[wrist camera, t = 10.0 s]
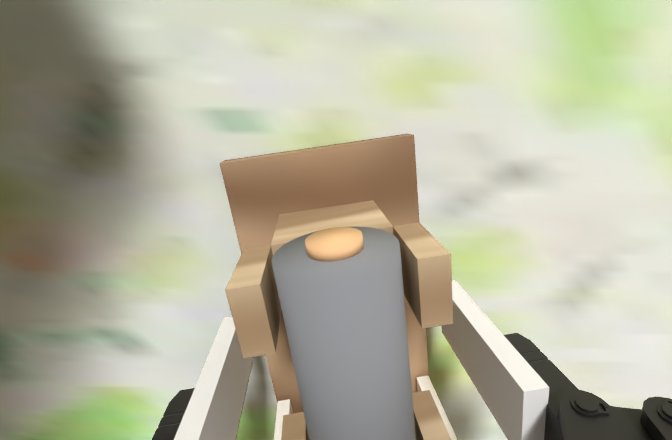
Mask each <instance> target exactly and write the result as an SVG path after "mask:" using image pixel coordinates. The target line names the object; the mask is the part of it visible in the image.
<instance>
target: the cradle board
mask: <svg viewBox="0 0 672 440" xmlns="http://www.w3.org/2000/svg"><path fill="white" fill-rule="evenodd" d="M220 167H221V171H222V175H223V179H224V183H225V188H226V192H227V196H228V200H229V204H230V208H231V213H232V217H233V221H234V225H235V229H236V233H237V237H238V242H239V246H240V250H241V254H242V255H241V257H240V259H239V261H238V263H237V265H236V268H235V270H234V272H233V274H232V276H231V278H230V280H229V283H228V285H227V287H226V289H225V291H226V295H227V299H228V302H229V306H230V310H231V314H232V317H233V321H234V325H235V329H236V332H237V336H238V340H239V344H240V347H241V351H242V355H243V358H249V357H255V356H261V355H266V358H267V362H268V366H269V370H270V374H271V378H272V383H273V387H274V391H275V395H276V399H277V403H278V401H282V400H288V399H290V402H291V406H292V410H293V414H288V415H283V424H282V437H281V440H309V436H308V431H307V426H306V421H305V417H304V412H303V407H302V403H301V398H300V393H299V389H298V384H297V379H296V375H295V370H294V365H293V360H292V356H291V351H290V346H289V342H288V337H287V332H286V328H285V323H284V318H283V313H282V309H281V304H280V299H279V295H278V290H277V285H276V281H275V276H274V271H273V266H272V257H273V255H274V254H275V252H276V251H277V250H278V249H279V248H280V247H282V246H283V245H284V244H286V243H288V242H289V241H291V240H293V239H295V238H298V237H300V236H303V235H306V234H309V233H312V232H316V231H320V230H324V229H328V228H334V227H351V226H357V227H371V228H377V229H381V230H384V231H387V232H389V233H391V234H393V235H394V236H395V237H396V238H397V239H398V241H399V243H400V253H401V265H402V277H403V289H404V301H405V313H406V326H407V338H408V350H409V362H410V374H411V386H412V398H413V410H414V422H415V435H416V440H451V438H450V436H449V433H448V431H447V429H446V427H445V424H444V422H443V420H442V418H441V415H440V413H439V411H438V408H437V406H436V404H435V402H434V399H433V397H432V395H431V392H430V390H426V391H421V392H417V380H416V377H422V376H429V370H428V354H427V338H426V328H430V327H436V326H442V325H448V324H453V303H452V272H451V254H450V253H449V252H448V251H447V250H446V249H445V248H444V247H443V246H442V245H441V244H440V243H439V242H438V241H437V240H436V239H435V238H434V237H433V236H432V235H431V234H430V233H429V232H428V231H427V230H426V229H425V228H424V227H423V226H422V225H421V224H420V223H419V209H418V193H417V177H416V161H415V144H414V135H411V134H403V135H396V136H389V137H382V138H376V139H369V140H362V141H355V142H348V143H341V144H334V145H328V146H321V147H314V148H307V149H300V150H293V151H287V152H280V153H273V154H266V155H259V156H252V157H245V158H239V159H232V160H225V161H223V162H221V163H220Z"/></svg>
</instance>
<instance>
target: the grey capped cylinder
mask: <svg viewBox="0 0 672 440" xmlns="http://www.w3.org/2000/svg"><path fill="white" fill-rule="evenodd" d="M272 266H273V271H274V276H275V281H276V285H277V290H278V295H279V299H280V304H281V309H282V313H283V318H284V323H285V328H286V332H287V337H288V342H289V346H290V351H291V356H292V360H293V365H294V370H295V375H296V379H297V384H298V389H299V393H300V398H301V403H302V407H303V412H304V417H305V421H306V426H307V431H308V436H309V440H416V435H415V422H414V410H413V398H412V386H411V374H410V362H409V350H408V338H407V326H406V313H405V301H404V289H403V277H402V265H401V253H400V243H399V241H398V239H397V238H396V237H395V236H394V235H393V234H391V233H389V232H387V231H384V230H381V229H377V228H371V227H357V226H351V227H334V228H328V229H324V230H320V231H316V232H312V233H309V234H306V235H303V236H300V237H298V238H295V239H293V240H291V241H289V242H288V243H286V244H284V245H283V246H282V247H280V248H279V249H278V250H277V251H276V252H275V254H274V255H273V257H272Z"/></svg>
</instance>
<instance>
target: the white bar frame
mask: <svg viewBox="0 0 672 440" xmlns="http://www.w3.org/2000/svg"><path fill="white" fill-rule="evenodd" d="M416 380H417V392H421V391H426V390H430V392H431V395H432V397H433V399H434V402H435V404H436V406H437V408H438V411H439V413H440V415H441V418H442V420H443V422H444V424H445V427H446V429H447V431H448V433H449V436H450V438H451V440H457V437H456V435H455V433H454V431H453V429H452V426H451V424H450V422H449V420H448V418H447V416H446V413H445V411H444V409H443V407H442V405H441V402H440V400H439V398H438V396H437V394H436V392H435V389H434V387H433V385H432V383H431V381H430V378H429V376H422V377H416ZM288 414H293V410H292V406H291V402H290V399H288V400H282V401H278V404H277V414H276V424H275V434H274V440H281V437H282V424H283V415H288Z"/></svg>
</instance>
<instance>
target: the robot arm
mask: <svg viewBox="0 0 672 440" xmlns="http://www.w3.org/2000/svg"><path fill="white" fill-rule="evenodd" d="M452 303H453V324H448V325H442V333H443V334H444V336H445V338H446V339H447V341H448V343H449V344H450V346H451V347H452V349H453V351H454V352H455V354H456V356H457V357H458V359H459V360H460V362H461V364H462V365H463V367H464V369H465V370H466V372H467V374H468V375H469V377H470V378H471V380H472V382H473V383H474V385H475V387H476V388H477V390H478V392H479V393H480V395H481V396H482V398H483V400H484V401H485V403H486V405H487V406H488V408H489V409H490V411H491V413H492V414H493V416H494V418H495V419H496V421H497V423H498V424H499V426H500V427H501V429H502V431H503V432H504V434H505V436H506V437H507V439H508V440H672V399H669V398H663V397H652V398H648V399H647V400H645V401H644V403H643V408H642V410H640V409H630V408H620V407H613V406H609V405H608V404H607V403H606V402H605V401H604V400H602V399H601V398H599V397H597V396H596V395H594V394H592V393H589V392H585V391H582V390H578V389H577V388H576V387H575V386H574V385H573V384H572V382H571V381H570V380H569V379H568V378H567V377H566V376H565V375H564V374H563V373H562V372H561V371H560V370H559V369H558V368H557V367H556V366H555V365H554V364H553V363H552V362H551V361H550V360H548V358H547V357H546V356H545V355H544V354H543V353H542V352H540V350H539V349H538V348H537V347H536V346H535V345H534V344H533V343H532V342H531V341H530V340H529V339H527V338H525V337H523V336H522V335H520V334H518V333H514V334H508V335H503V334H502V333H501V332H500V331H499V329H498V328H497V327H496V326H495V325H494V324H493V323H492V322H491V320H490V319H489V318H488V317H487V316H486V315H485V314H484V312H483V311H482V310H481V309H480V308H479V307H478V306H477V304H476V303H475V302H474V301H473V300H472V299H471V298H470V296H469V295H468V294H467V293H466V292H465V291H464V290H463V289H462V287H461V286H460V285H459V284H458V283H457V282H456V281H452ZM251 367H252V360H251V357H249V358H243V355H242V351H241V347H240V344H239V340H238V336H237V332H236V329H235V325H234V321H233V317H226V318H223V320H222V323H221V325H220V328H219V330H218V333H217V335H216V338H215V340H214V343H213V345H212V347H211V350H210V352H209V355H208V357H207V360H206V362H205V365H204V367H203V369H202V372H201V374H200V377H199V379H198V382H197V384H196V387H195V388H192V389H186V390H180V391H179V392H178V394H177V395H176V396H175V397H174V398H173V399H172V400H171V401H170V402H169V405H168V407H167V409H166V411H165V413H164V415H163V418H162V419H161V421H160V423H159V426H158V428H157V430H156V432H155V434H154V436H153V438H152V440H236V435H237V431H238V426H239V422H240V417H241V413H242V408H243V404H244V399H245V394H246V390H247V385H248V381H249V376H250V372H251Z"/></svg>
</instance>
